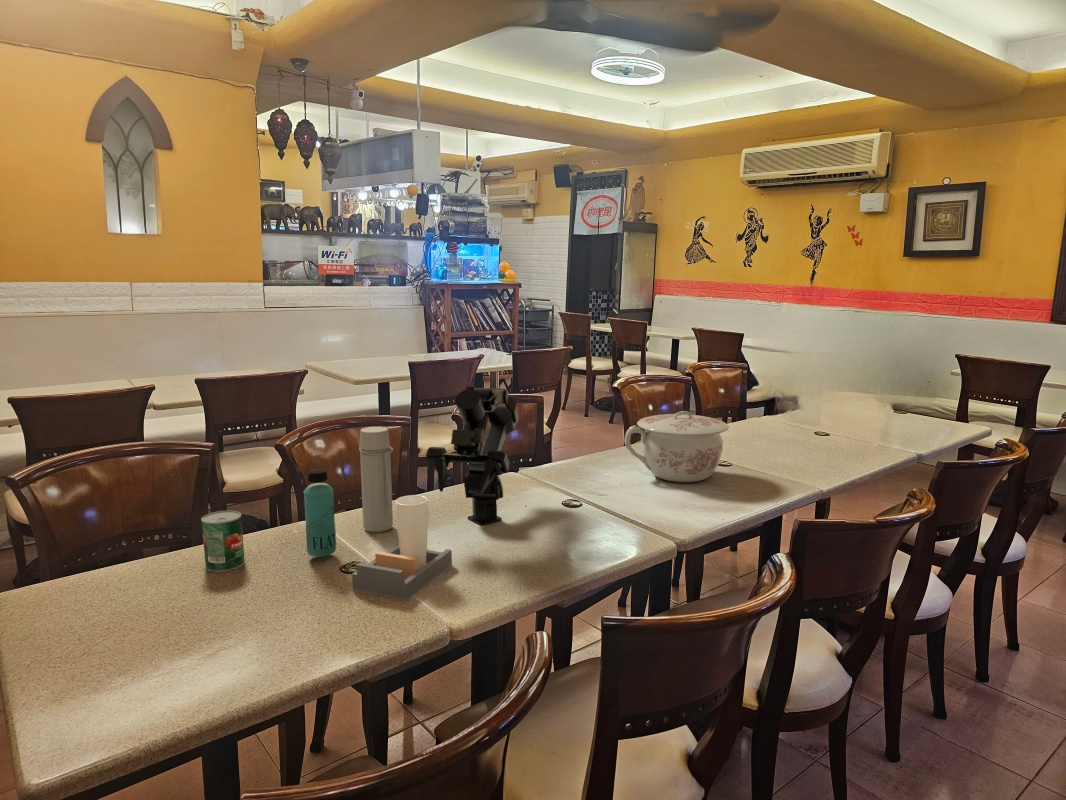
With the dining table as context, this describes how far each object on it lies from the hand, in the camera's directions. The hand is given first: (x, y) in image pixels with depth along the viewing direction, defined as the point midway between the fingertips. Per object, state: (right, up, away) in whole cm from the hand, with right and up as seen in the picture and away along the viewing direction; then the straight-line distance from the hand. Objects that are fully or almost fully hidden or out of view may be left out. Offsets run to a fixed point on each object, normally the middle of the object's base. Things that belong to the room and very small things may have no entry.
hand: (460, 492), depth 160 cm
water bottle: (-21, -11, +15) cm, 28 cm away
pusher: (-11, -16, -15) cm, 24 cm away
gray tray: (-10, -16, -12) cm, 23 cm away
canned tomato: (-50, -15, -6) cm, 53 cm away
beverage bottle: (-30, -14, -2) cm, 34 cm away
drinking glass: (-9, -15, -9) cm, 20 cm away
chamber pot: (+61, -3, +59) cm, 86 cm away
